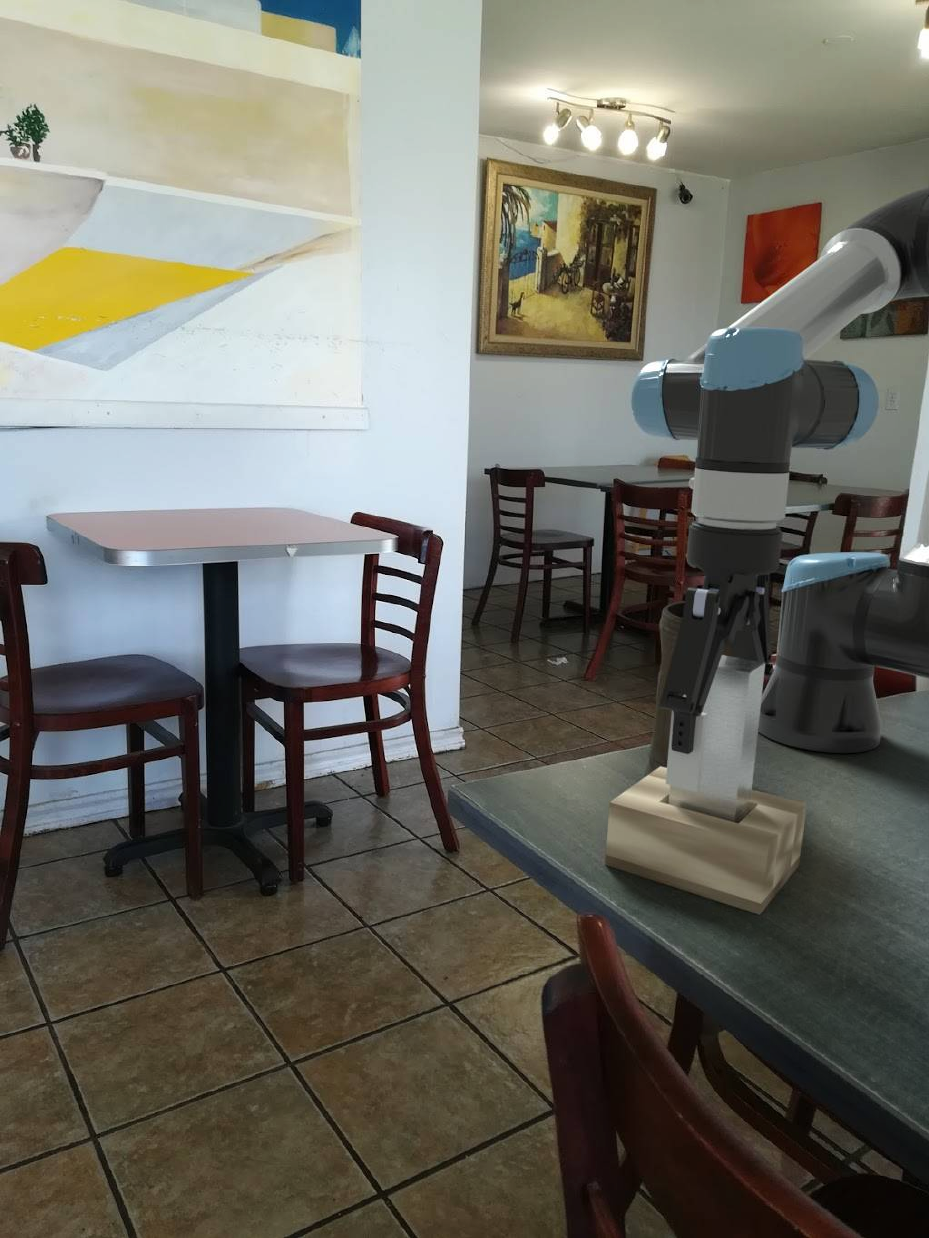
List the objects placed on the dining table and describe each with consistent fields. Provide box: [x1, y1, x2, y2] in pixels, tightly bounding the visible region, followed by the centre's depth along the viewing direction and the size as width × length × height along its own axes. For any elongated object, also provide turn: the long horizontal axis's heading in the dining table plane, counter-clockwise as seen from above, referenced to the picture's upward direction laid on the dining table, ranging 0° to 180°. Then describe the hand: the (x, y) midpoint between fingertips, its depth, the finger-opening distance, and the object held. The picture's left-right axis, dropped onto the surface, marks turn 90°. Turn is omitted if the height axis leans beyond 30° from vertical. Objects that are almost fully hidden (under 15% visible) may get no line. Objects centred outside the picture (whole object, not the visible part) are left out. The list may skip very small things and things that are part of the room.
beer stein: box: [643, 600, 732, 778], centre depth 105 cm, size 15×11×20 cm
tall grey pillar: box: [668, 655, 765, 824], centre depth 86 cm, size 4×6×18 cm, turn 56°
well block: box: [604, 766, 807, 916], centre depth 88 cm, size 11×14×6 cm
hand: (712, 763), depth 86 cm, fingers open, 13 cm apart
